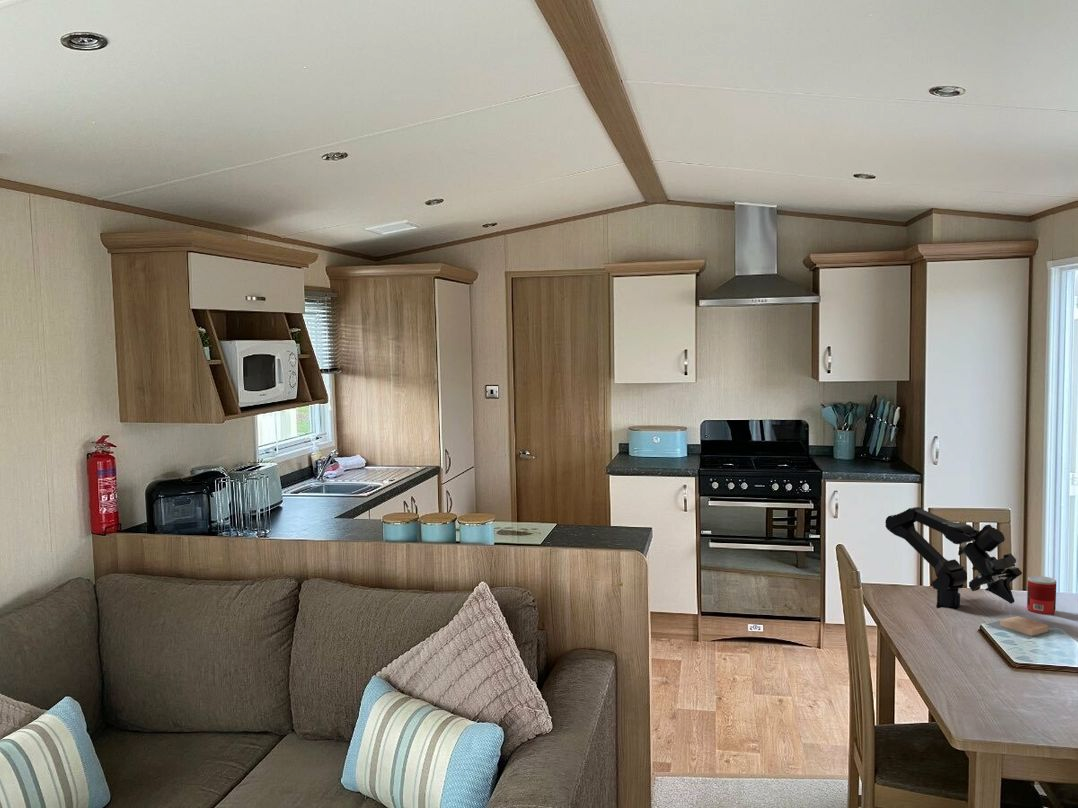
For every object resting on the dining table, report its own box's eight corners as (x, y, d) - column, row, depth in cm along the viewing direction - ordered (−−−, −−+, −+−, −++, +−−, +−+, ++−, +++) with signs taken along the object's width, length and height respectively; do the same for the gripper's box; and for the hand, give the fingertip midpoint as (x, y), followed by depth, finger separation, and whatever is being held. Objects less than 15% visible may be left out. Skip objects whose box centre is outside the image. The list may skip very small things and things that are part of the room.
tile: (1000, 620, 259) (1031, 630, 250) (1016, 616, 263) (1048, 625, 254) (1000, 626, 259) (1031, 636, 250) (1016, 622, 263) (1048, 632, 254)
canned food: (1060, 615, 269) (1061, 582, 268) (1035, 616, 269) (1036, 582, 268) (1046, 608, 277) (1047, 575, 276) (1022, 608, 277) (1023, 575, 276)
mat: (985, 625, 262) (985, 624, 262) (1010, 619, 267) (1010, 617, 267) (1028, 640, 249) (1028, 638, 249) (1053, 633, 254) (1054, 631, 254)
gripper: (978, 549, 259) (1011, 594, 250) (1016, 542, 267) (1050, 584, 258) (955, 568, 266) (986, 612, 257) (993, 560, 275) (1025, 602, 266)
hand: (1013, 602), depth 259 cm, fingers closed
